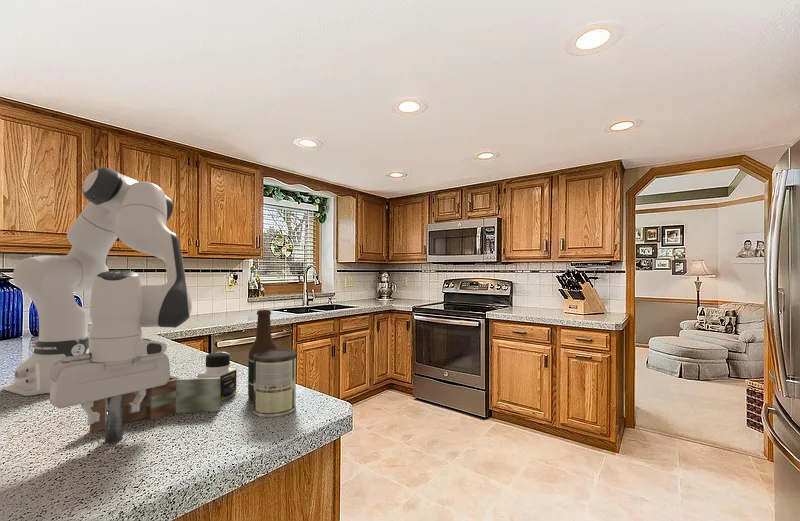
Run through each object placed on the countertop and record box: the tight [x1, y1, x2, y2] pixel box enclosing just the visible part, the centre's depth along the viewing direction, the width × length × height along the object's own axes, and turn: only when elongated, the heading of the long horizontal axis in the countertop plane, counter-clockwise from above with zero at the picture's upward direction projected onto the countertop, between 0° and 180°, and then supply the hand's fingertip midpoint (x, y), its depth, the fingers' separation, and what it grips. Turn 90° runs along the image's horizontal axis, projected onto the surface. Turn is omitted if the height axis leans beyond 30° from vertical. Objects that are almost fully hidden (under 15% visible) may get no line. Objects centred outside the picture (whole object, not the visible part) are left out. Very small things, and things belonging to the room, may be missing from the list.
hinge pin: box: [104, 394, 124, 444], centre depth 80 cm, size 3×3×12 cm
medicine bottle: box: [197, 351, 237, 402], centre depth 108 cm, size 7×7×12 cm
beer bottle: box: [247, 309, 278, 403], centre depth 107 cm, size 8×8×24 cm
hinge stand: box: [89, 375, 221, 434], centre depth 92 cm, size 23×14×8 cm, turn 147°
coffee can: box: [252, 348, 298, 418], centre depth 98 cm, size 10×10×14 cm
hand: (114, 417), depth 80 cm, fingers open, 6 cm apart
